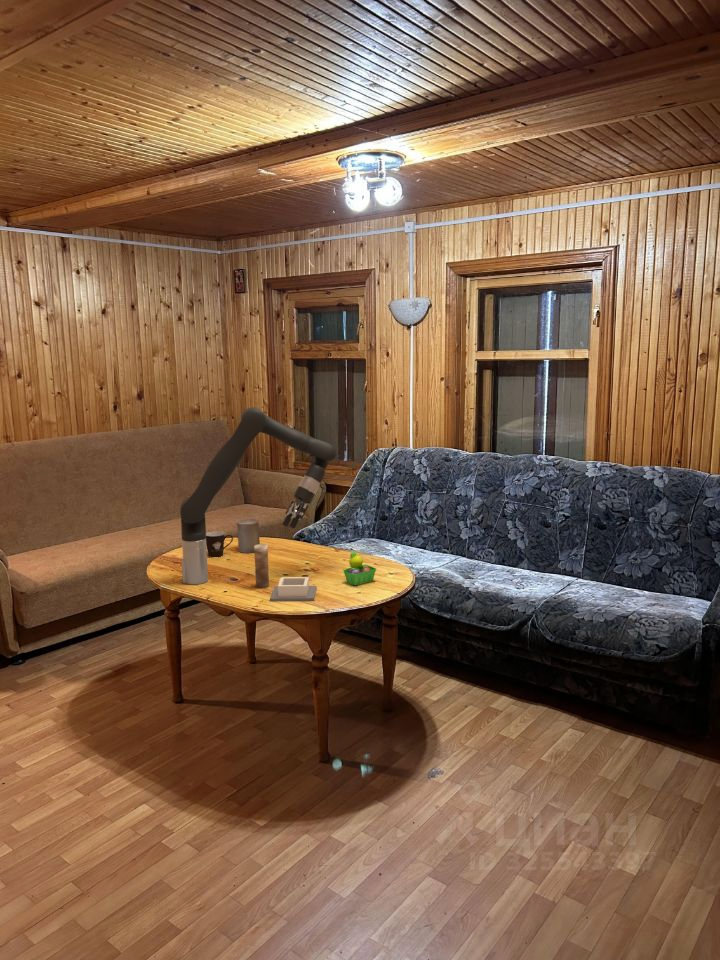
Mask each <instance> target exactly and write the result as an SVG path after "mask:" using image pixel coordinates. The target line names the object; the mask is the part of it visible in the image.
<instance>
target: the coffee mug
mask: <svg viewBox="0 0 720 960" xmlns="http://www.w3.org/2000/svg"><path fill="white" fill-rule="evenodd" d="M225 534H226V533H225V532H224V531H208V532H206V546H207V557H208V556H209V558H210V557H218V558H222V557H223V556H224V551H225V549H226V548H227V547H228V546H230V545H231V544H232V543H233V540H234V538H233V535H231V534H226V535H225ZM228 537H229V538H231V540H230V542H229V543H227V544H226V545H225V540H226V538H228ZM221 556H222V557H221Z"/></svg>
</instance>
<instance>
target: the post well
mask: <svg viewBox="0 0 720 960" xmlns="http://www.w3.org/2000/svg"><path fill="white" fill-rule="evenodd" d="M309 580H310V577H309V576H303V577H302V576H299V577H298V576H297V577H295V576H293V577H288V576H287V577H280V580H279V582H278V584H277V585H274V586H273V589H272V592H271V595H270V596H269V597H270V598H269V602H314V601H315V600H316V595H315V594H317V587H318V586H317V585H310V581H309ZM314 599H315V600H314Z"/></svg>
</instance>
